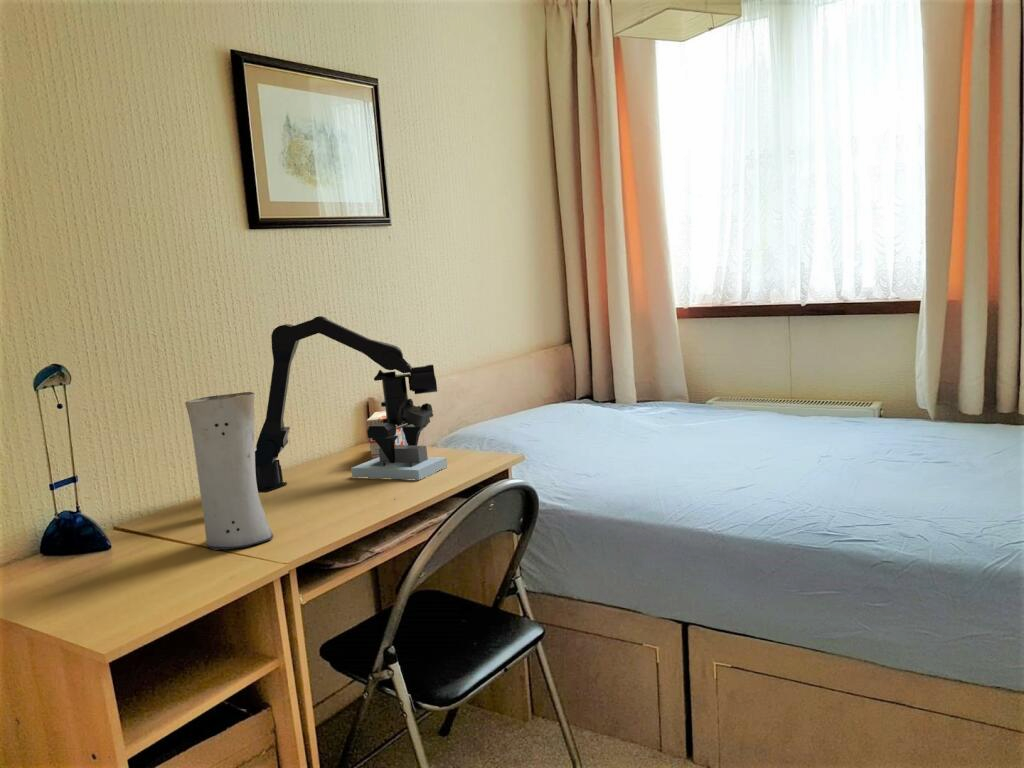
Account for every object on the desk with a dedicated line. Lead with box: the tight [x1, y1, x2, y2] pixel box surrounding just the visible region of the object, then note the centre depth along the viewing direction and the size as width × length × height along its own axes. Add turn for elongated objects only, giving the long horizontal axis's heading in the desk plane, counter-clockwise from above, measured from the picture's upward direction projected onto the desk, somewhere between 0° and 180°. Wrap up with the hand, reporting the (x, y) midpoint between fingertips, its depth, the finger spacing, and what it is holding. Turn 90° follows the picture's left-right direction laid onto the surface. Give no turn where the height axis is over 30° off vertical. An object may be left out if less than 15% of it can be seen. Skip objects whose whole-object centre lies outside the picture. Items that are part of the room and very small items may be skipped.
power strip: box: [378, 444, 429, 467], centre depth 192 cm, size 12×4×6 cm, turn 62°
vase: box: [184, 391, 274, 552], centre depth 147 cm, size 13×14×28 cm
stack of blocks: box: [366, 410, 408, 460], centre depth 213 cm, size 21×6×12 cm, turn 0°
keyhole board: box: [351, 456, 448, 481], centre depth 191 cm, size 20×12×2 cm, turn 62°
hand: (403, 458), depth 193 cm, fingers open, 8 cm apart
